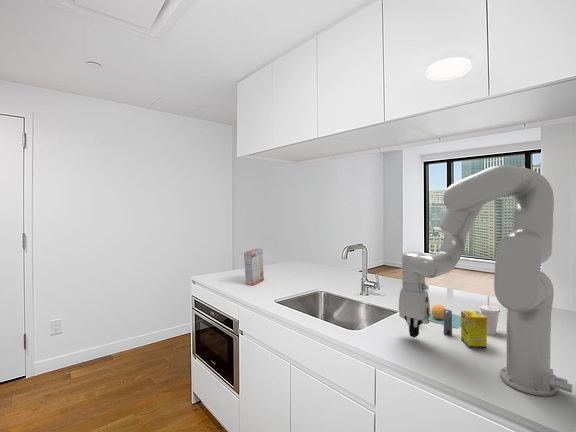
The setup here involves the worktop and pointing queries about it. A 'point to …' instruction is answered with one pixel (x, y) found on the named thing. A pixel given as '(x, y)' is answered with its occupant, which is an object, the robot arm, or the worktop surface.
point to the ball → (438, 311)
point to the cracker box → (254, 266)
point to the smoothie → (490, 317)
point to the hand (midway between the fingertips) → (414, 335)
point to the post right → (448, 322)
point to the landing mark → (455, 320)
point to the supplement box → (474, 329)
